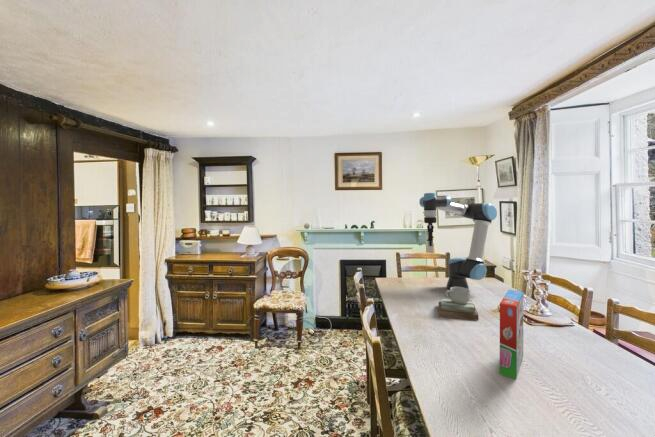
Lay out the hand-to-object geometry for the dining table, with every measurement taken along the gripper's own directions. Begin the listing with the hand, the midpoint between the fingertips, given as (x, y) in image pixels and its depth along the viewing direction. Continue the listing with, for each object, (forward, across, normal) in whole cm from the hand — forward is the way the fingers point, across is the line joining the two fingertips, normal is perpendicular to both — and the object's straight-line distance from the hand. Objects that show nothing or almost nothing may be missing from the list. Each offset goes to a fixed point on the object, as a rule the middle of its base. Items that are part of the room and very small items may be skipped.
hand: (430, 249), depth 191 cm
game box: (+34, +71, +30) cm, 84 cm away
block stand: (+34, +17, +14) cm, 41 cm away
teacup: (+28, +17, +14) cm, 36 cm away
